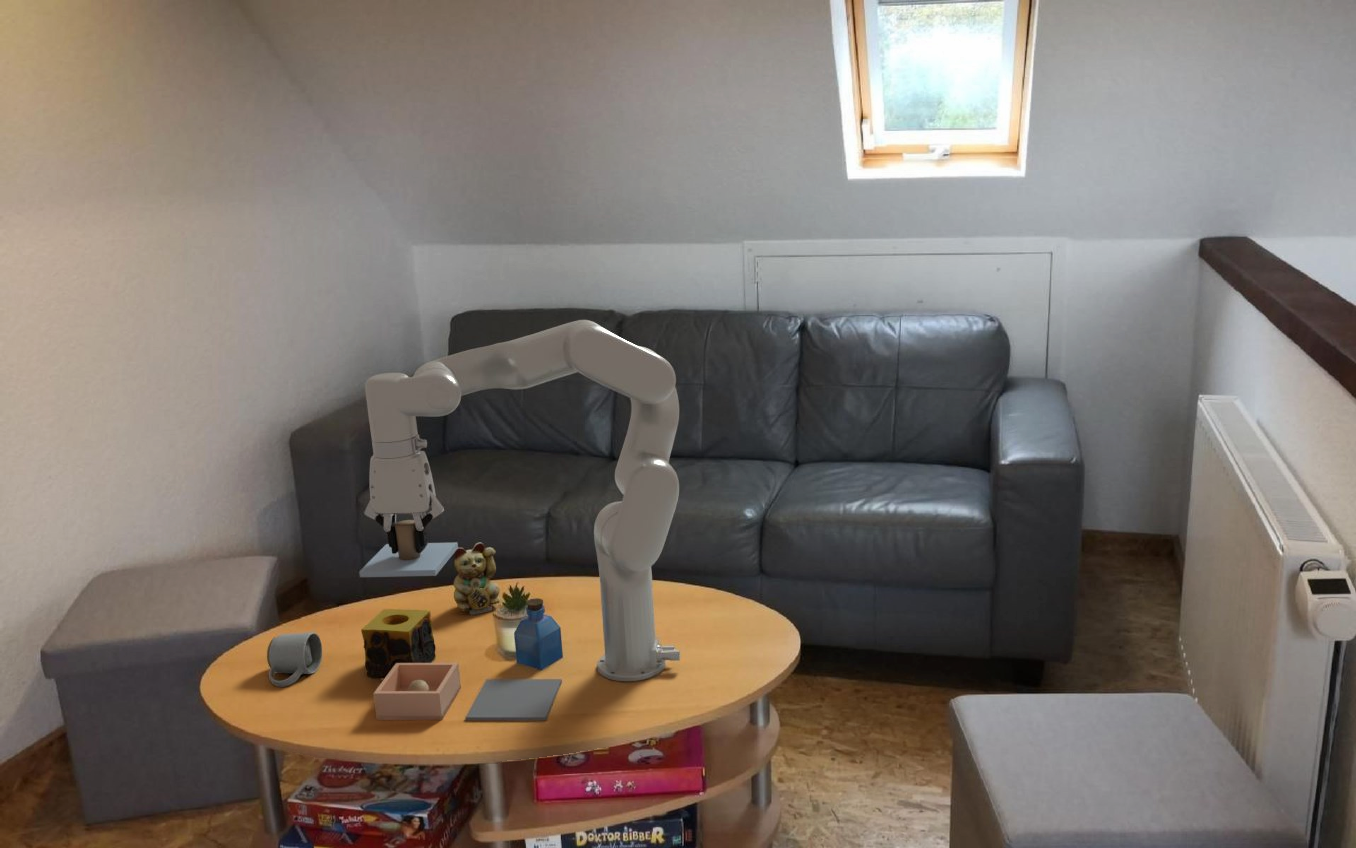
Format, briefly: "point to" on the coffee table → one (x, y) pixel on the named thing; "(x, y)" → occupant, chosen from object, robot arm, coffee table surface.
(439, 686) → the dish
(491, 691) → the mat
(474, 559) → the decorative figurine
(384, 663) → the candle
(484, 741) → the coffee table surface
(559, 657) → the perfume bottle
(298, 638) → the ceramic mug
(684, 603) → the coffee table surface
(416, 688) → the ball
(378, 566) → the lid
